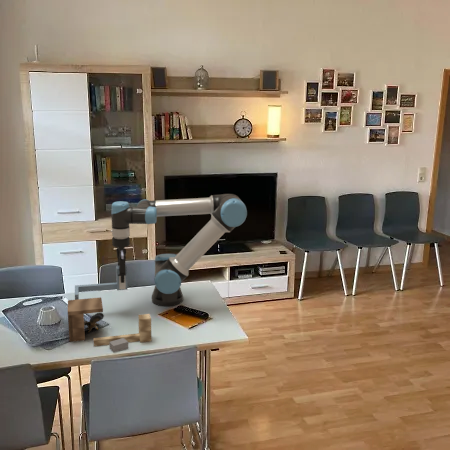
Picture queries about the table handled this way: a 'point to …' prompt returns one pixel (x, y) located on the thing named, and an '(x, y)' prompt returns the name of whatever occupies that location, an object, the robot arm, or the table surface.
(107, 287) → the crook
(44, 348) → the table surface
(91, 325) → the eagle figurine
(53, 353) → the table surface
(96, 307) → the wooden l bracket
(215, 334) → the table surface
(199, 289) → the table surface
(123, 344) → the grey eraser block
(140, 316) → the plain l-shaped wooden block
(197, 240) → the robot arm
